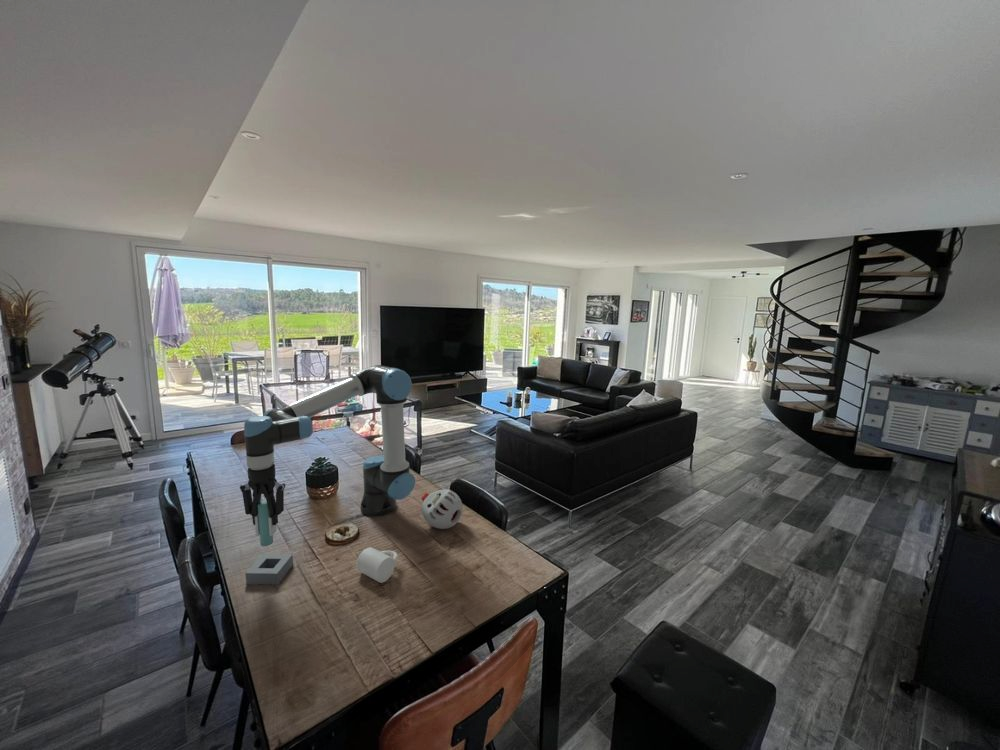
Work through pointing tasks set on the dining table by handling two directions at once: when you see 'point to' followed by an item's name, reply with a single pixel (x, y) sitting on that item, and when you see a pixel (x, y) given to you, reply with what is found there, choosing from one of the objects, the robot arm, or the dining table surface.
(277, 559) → the socket
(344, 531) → the round brown cream disc
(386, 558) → the mug
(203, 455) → the dining table surface
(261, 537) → the peg
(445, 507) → the decorative object
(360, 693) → the dining table surface
